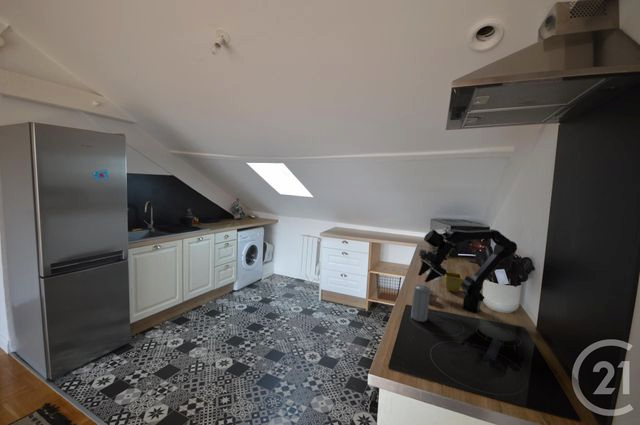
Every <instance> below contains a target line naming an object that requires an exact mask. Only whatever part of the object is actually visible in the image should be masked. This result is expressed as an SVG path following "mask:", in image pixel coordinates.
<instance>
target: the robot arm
mask: <svg viewBox="0 0 640 425" xmlns="http://www.w3.org/2000/svg"><path fill="white" fill-rule="evenodd" d="M490 239H491V241H492V242H493V244H495V245H494V246H493V252H492V253H491V254H490V256H489V257H488V258H487V259H486V260H485V261H484V263H483V264H482V265H481V267H479V269H478V270H477V271H476V272H475V273H474V275H472V276H469V275H466V276H465V278H463V281H462V284H461V288H460V289H461V290H462V292H463V293H464V294H465V295H464V297H463V300H462V301H463V302H462V307H461V308H462V309H463V310H466V311H469V312H471V313H473V314H477V313H479V312H481V311H482V308H481V305H482V304H481V303H482V302H483V301H484V299H485V296H484V295H483V294H482V293H481V291H482V289H483V286H484V282H485V281H486V280H487V279H488V277H490V275H491V274H492V272H494V270H495V269H496V268H497V267H499V264H501V262H502V261H503V260H504V259H507V258H508V257H509V258H510V257H511V256H512V255H513V254H515V252H517V251H518V245H517V243H516V242H515V241H512V240H510V239H509V238H508V237H506V236H505V235H503V234H502V233H501V232H500V230H496V229H492V228H491V229H484V230H483V229H482V230H481V229H479V230H460V229H453V228H452V229H448V230H447V231H446V232H443V233H441V234H440V233H438V231H437V230H435V229H432V230H431V231H429V232H427V233H426V234H425V235H424V237H423V241H424V242H426V243H428V244H429V245H430V246H432V247H433V248H436V249H432V250H426V249H423V248H421V249H420V250H419V254H418V256H419V257H420V262H421V264H420V268H419V271H418V276H421V277H422V275H423V274H425V273H426V271H428V270H429V269H430V272H429V274H428V275H426V277H425V280H424V282H425V283H428V282H432V280H433V279H435V278H438V277H440V276H441V277H440V278H442V277H443V276H444V277H445V274H446V273H447V272H448V271H447V270H446V268H444V267H443V265H442V264H443V263H444V261H447V260H448V256H449V255H450V253H451V252H452V250H455V251H456V252H457V251H459V249H458V245H457V244H462V243H464V242H467V241H471V240H472V241H474V240H475V241H476V240H490ZM430 265H431V266H430ZM432 268H433V269H432ZM441 274H442V275H441Z"/></svg>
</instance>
